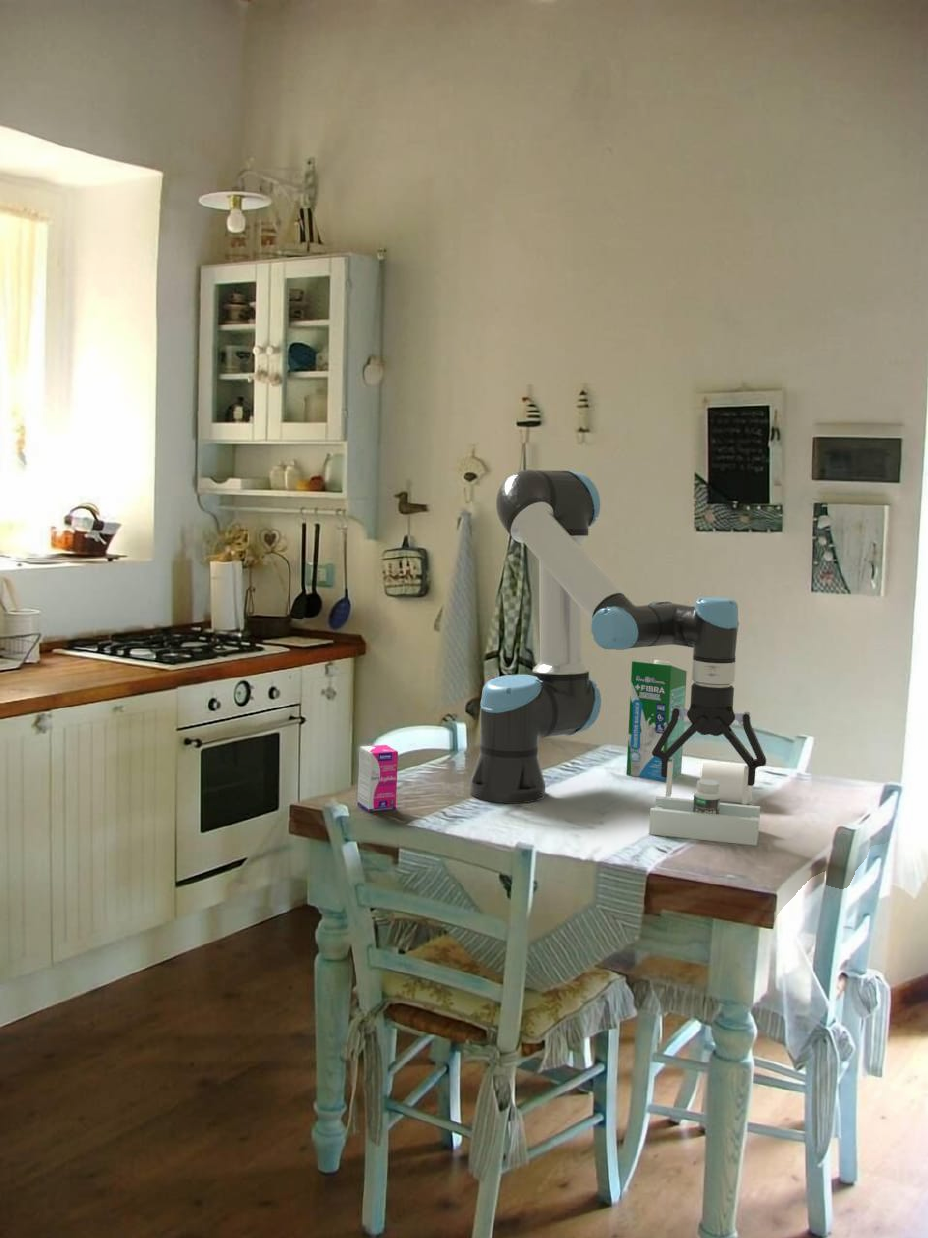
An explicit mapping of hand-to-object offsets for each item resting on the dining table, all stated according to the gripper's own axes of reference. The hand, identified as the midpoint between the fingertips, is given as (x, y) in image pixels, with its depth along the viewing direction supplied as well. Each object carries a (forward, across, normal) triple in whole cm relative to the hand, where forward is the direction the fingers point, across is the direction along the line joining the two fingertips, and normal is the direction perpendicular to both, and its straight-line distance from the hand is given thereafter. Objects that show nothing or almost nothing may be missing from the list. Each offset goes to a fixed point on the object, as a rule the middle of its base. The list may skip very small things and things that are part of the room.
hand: (706, 799), depth 225 cm
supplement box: (+6, -61, -6) cm, 62 cm away
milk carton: (+6, -14, +40) cm, 43 cm away
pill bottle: (+5, 0, 0) cm, 5 cm away
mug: (+7, +2, +26) cm, 26 cm away
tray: (+6, 0, 0) cm, 6 cm away
